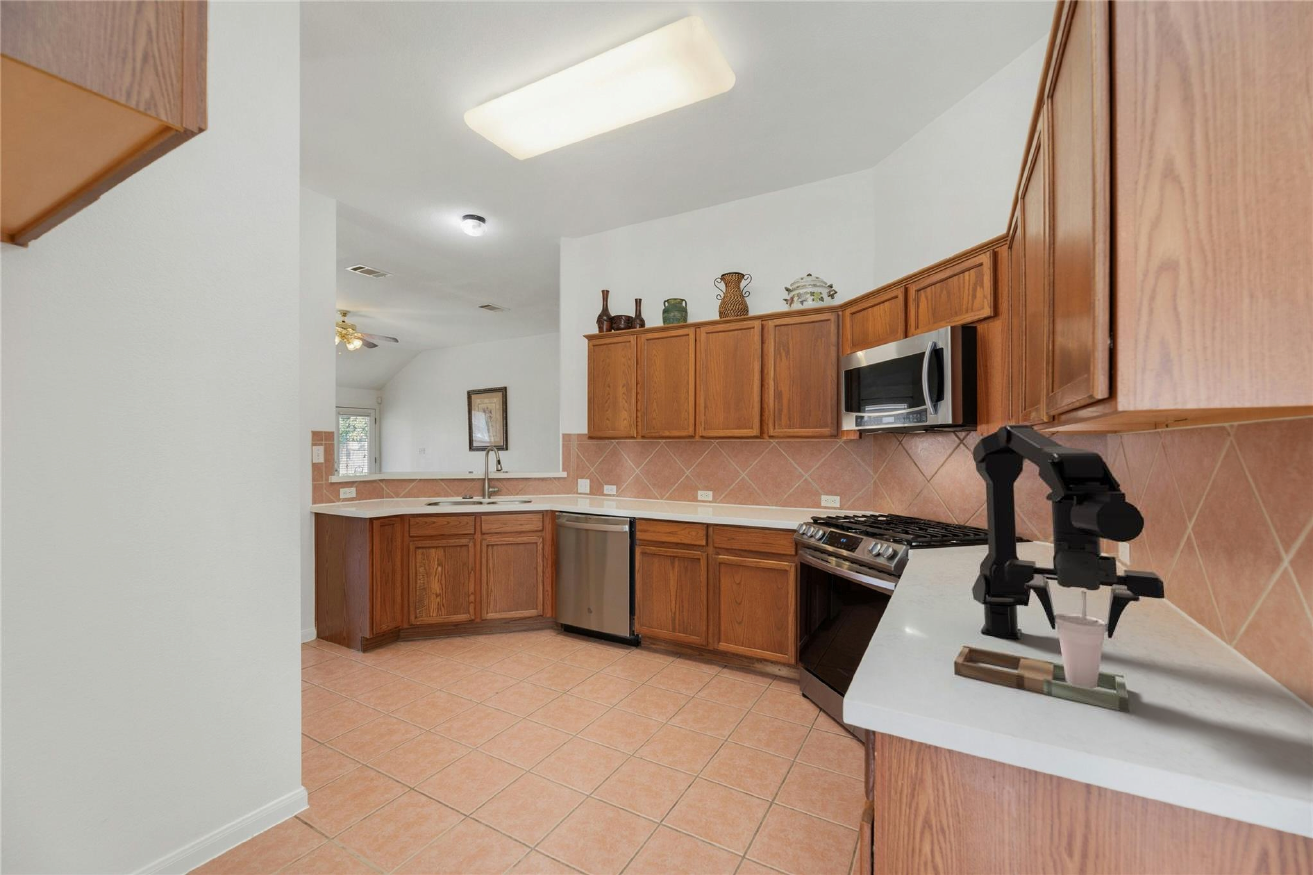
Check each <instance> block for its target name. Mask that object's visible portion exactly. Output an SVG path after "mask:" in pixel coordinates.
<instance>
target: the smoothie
mask: <svg viewBox="0 0 1313 875" xmlns="http://www.w3.org/2000/svg"><path fill="white" fill-rule="evenodd" d="M1055 625H1056V626H1057V632H1058V639H1059V645H1060V651H1061V657H1062V664H1063V665H1064V671H1065V677H1066V679H1065V681H1066V682H1067V683H1069V684H1074V685H1079V686H1084V687H1089V688H1094V689H1097V687H1098V686H1097V681H1098V674H1099V671H1100V666H1101V659H1102V652H1103V648H1104V647H1103V646H1104V639H1105V633H1108V632H1107V631H1108V630H1107V622H1104V621H1103V620H1101V619H1098V618H1095V617H1092V616H1087V592H1086V591H1081V614H1075V613H1057V614H1055Z"/></svg>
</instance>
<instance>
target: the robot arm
mask: <svg viewBox="0 0 1313 875" xmlns="http://www.w3.org/2000/svg"><path fill="white" fill-rule="evenodd" d="M972 458H973V461H974V464H975V469H976V472H977V473H978V475H979V476H980V477H981V479H982V480H983V481H984V483H985V492H986V493H985V494H986V498H985V499H986V520H987V521H986V522H987V543H988V545H987V547H988V550H987V551H988V552H987V554H986V556H985V557H984V559H983V560H982V561H981V562H980V564H979V574H978V576H977V578H976V579H975V581H974V584H973V585H972V588H971V592H972V597H973V598H972V599H973V600H975V601H976V602H977V603H979V604H981V605H983V611H984V613H983V614H984V615H983V616H984V624H983V626H982V628H981V630H980V633H981V634H984V635H988V636H995V637H1001V638H1007V639H1012V640H1020V638H1021V635H1022V633H1023V631H1022V630H1023V629H1022V628H1019V625H1018V624H1019V622H1018V606H1024V607H1029V603H1030V598H1031V597H1030V596H1031V592H1032V591H1033V593H1034V594H1035V595H1036V597H1037V598H1038V600H1039V602H1040V604H1041V606H1042V608H1043V610H1044V613H1045V615H1046V617H1047V620H1048V623H1049V625H1050V627H1051V630H1056V623H1055V615H1056V614H1055V609H1054V604H1053V599H1052V594H1051V587H1050V583H1049V581H1050V580H1051V581H1057V585H1058V586H1060V587H1062V588H1067V589H1070V588H1077V589H1078V588H1079V589H1084V590H1085V589H1086V590H1087V591H1099V590H1100V588H1101V586H1105V587H1110V592H1109V593H1110V594H1109V602H1108V603H1109V604H1108V614H1107V622H1106V624H1107V630H1108V631H1107V632H1106V633H1107V638H1108V639H1112V638H1113V635H1114V633H1115V630H1116V628H1117V627H1118V626H1117V625H1118V623H1119V620H1120V617H1121V616H1122V614H1123V612H1124V611H1125V609H1126V608H1127V606H1128V605H1129V604H1130V603H1131V602H1137V603H1138V602H1140V597H1142V598H1152V599H1158V600H1159V599H1161V600H1162V599H1165V586H1164V581H1163V580H1162V578H1161V576H1159V575H1158V574H1157V573H1156V572H1153V571H1145V570H1144V571H1143V570H1135V569H1134V570H1130V569H1123V574H1118V573H1117V558H1116V556H1111V555H1110V556H1109V555H1107V556H1105V555H1102V546H1101V539H1103V540H1109V541H1111V542H1112V541H1113V542H1117V543H1126V542H1130V541H1132V540H1135V539H1136V538H1138V537H1139V536H1140V534H1141V533H1142V532H1143V529H1144V528H1145V518H1144V516H1143V515H1142V512H1140V510H1139V509H1138V508H1137V507H1136V506H1135V505H1134V504H1133V503H1131V502H1128V501H1126V500H1127V499H1126V498H1127V496H1126V493H1125V492H1123V491H1122V490H1121V488H1120V487H1121V484H1120V483H1119V482H1118V480H1117V479H1116V477H1115V476H1114V475H1113V473H1112V471H1111V470H1110V468H1109V466H1108V465H1107V463H1106V462H1105V460H1104V458H1103V457H1102V455H1100V453H1098V452H1096V451H1091V450H1088V449H1082V448H1076V447H1075V448H1074V447H1066V446H1065V445H1062V444H1060V443H1059V442H1057V441H1055V440H1053V439H1051V438H1049V437H1047V436H1046V435H1044V434H1042V433H1040V432H1038V431H1037V430H1035V428H1034V426H1032V425H1028V424H1005V425H1004V426H1001V427H999V428H998V429H997V430H996V431H995V432H993V433H991V434H988V435H986V436H984V437H981V439H980V440H979V441H978V442H977V443H976V444H975V446H974V447H973V449H972ZM1026 460H1028V461H1029V462H1031V463H1032V464H1034V465H1035V466H1037V467H1038V474H1037V476H1038V477H1039V478H1040V479H1041V480H1042V481H1043V482H1044V483H1045V484H1046V485H1047V486H1048V487H1049V489H1050V490H1051V491H1050V492H1049V493H1047V495H1046V496H1045V499H1046V501H1051V512H1052V513H1051V517H1052V534H1053V535H1052V538H1053V540H1052V541H1053V557H1052V563H1053V564H1052V566H1053V567H1052V568H1051V567H1042V566H1037V564H1036V560H1035V561H1034V560H1024V559H1020V557H1018V553H1017V552H1018V550H1017V528H1016V506H1015V504H1016V503H1015V483H1016V481H1017V480H1018V478H1019V477H1020V475H1021V474H1022V473H1023V471H1024V461H1026ZM1031 590H1032V591H1031Z"/></svg>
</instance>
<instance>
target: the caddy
mask: <svg viewBox="0 0 1313 875" xmlns="http://www.w3.org/2000/svg"><path fill="white" fill-rule="evenodd" d="M970 661H974V662H979V663H985V664H990V665H995V666H1000V667H1003V668H1004V667H1005V668H1009V669H1013V670H1017V672H1016V671H1010V670H1006V669H1001V668H996V667H991V666H987V665H981V664H976V663H971V662H970ZM953 666H954V667H953V668H954V670H953V672H954V673H953V674H954V675H958V676H961V677H962V676H963V677H967V678H971V679H972V678H973V679H976V680H979V681H980V680H981V681H985V682H990V683H993V684H994V683H995V684H998V685H1003V686H1006V687H1007V686H1008V687H1012V688H1017V689H1021V690H1026V691H1030V692H1033V693H1039V694H1044V695H1047V696H1053V697H1057V698H1061V699H1066V700H1071V701H1075V702H1080V703H1084V704H1089V705H1093V706H1097V707H1103V708H1107V709H1111V710H1116V711H1121V712H1125V713H1130V707H1129V706H1130V704H1129V696H1128V690H1127V685H1126V681H1125V676H1124V675H1123V674H1122V675H1121V674H1116V673H1110V672H1105V671H1100V670H1099V674H1098V681H1097V687H1103V688H1108V689H1112V690H1113V689H1114V690H1115V691H1116V692H1114V691H1113V692H1112V691H1108V690H1102V689H1097V688H1089V687H1084V686H1079V685H1074V684H1071V683H1069V682H1064V681H1059V680H1055V678H1058V679H1062V680H1066V677H1065V671H1064V665H1063V663H1060V662H1059V663H1058V662H1053V661H1049V660H1048V661H1047V660H1042V659H1037V658H1032V657H1026V656H1022V655H1016V654H1011V653H1004V652H999V651H994V650H988V649H984V648H978V647H973V646H967V645H963V646H962V648H961V649H960V651H959V652H958V655H957V656H956V658H955V659H954V661H953Z"/></svg>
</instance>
